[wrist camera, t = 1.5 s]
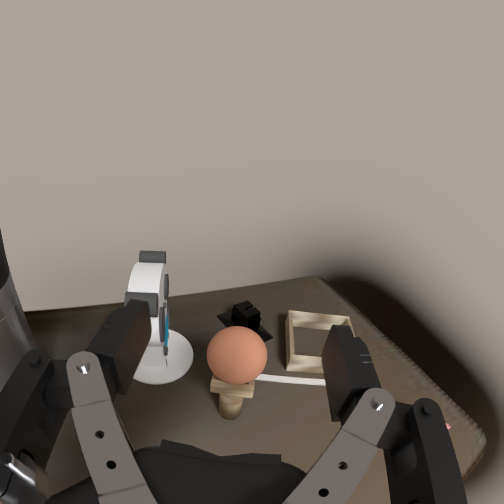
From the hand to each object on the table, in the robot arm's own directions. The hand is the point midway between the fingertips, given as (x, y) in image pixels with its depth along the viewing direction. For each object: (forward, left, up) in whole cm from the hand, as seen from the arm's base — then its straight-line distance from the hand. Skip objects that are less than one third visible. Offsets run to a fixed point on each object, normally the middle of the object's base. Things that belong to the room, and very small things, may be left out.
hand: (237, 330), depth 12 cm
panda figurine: (-12, +18, -24) cm, 32 cm away
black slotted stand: (0, +28, -25) cm, 37 cm away
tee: (0, +11, -24) cm, 26 cm away
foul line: (+8, +17, -24) cm, 31 cm away
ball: (0, +11, -13) cm, 17 cm away
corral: (+13, +25, -24) cm, 37 cm away
